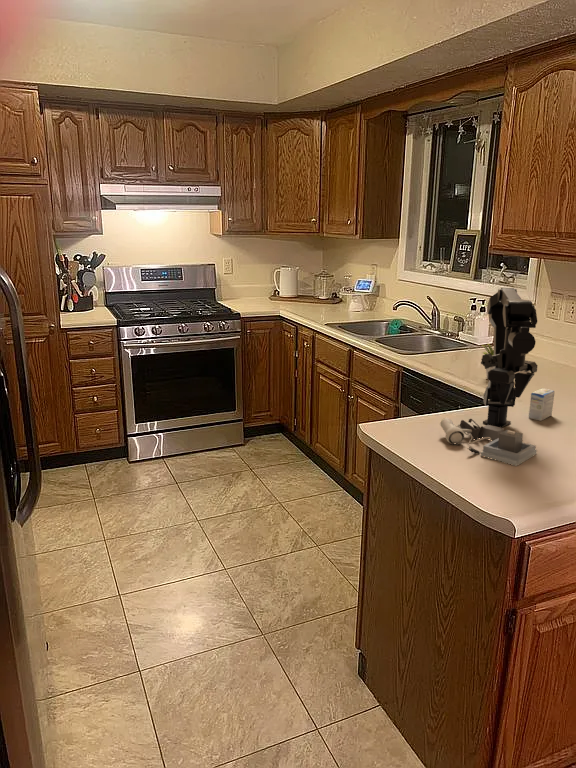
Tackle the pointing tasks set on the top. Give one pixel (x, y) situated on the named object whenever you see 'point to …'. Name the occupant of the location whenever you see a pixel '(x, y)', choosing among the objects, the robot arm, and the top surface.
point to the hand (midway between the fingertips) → (510, 400)
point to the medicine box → (541, 404)
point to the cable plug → (492, 432)
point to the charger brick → (510, 441)
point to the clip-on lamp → (462, 431)
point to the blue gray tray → (508, 453)
